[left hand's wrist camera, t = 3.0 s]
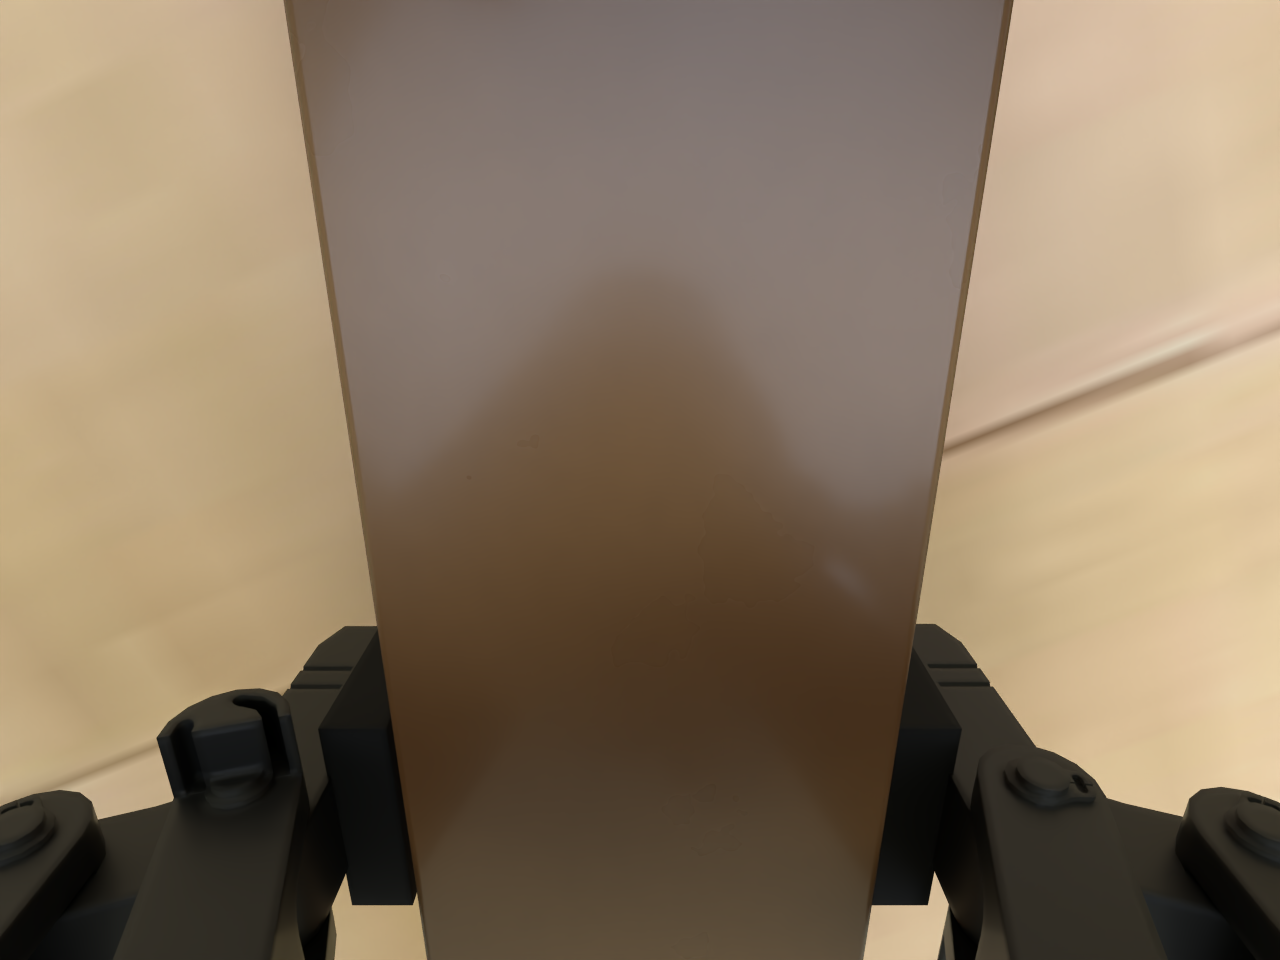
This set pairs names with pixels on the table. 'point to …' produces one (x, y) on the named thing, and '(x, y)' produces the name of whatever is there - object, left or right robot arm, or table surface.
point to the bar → (647, 439)
